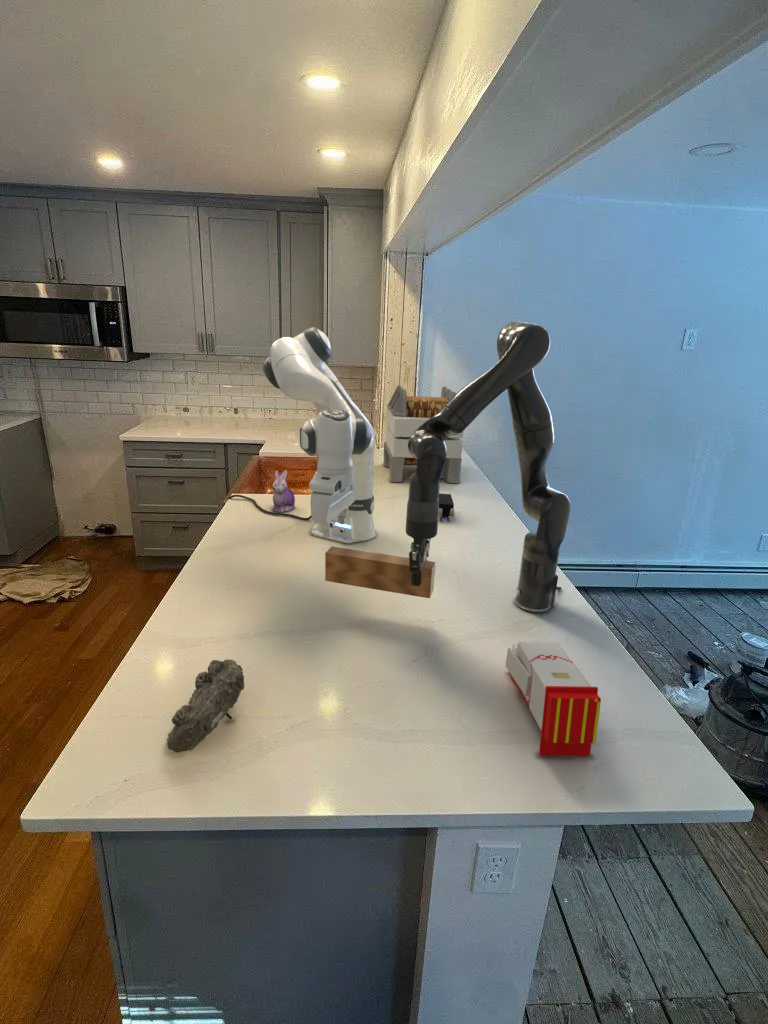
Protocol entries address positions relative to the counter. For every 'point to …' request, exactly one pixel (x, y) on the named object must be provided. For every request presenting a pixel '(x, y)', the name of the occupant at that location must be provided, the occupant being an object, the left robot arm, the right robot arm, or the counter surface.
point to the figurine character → (446, 506)
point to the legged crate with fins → (405, 420)
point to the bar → (377, 571)
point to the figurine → (282, 493)
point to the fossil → (206, 705)
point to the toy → (556, 697)
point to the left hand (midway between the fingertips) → (335, 529)
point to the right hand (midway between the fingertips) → (418, 580)
